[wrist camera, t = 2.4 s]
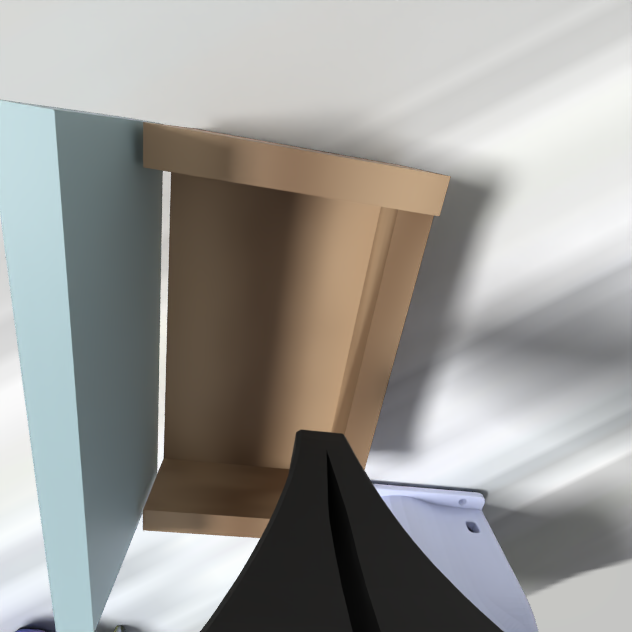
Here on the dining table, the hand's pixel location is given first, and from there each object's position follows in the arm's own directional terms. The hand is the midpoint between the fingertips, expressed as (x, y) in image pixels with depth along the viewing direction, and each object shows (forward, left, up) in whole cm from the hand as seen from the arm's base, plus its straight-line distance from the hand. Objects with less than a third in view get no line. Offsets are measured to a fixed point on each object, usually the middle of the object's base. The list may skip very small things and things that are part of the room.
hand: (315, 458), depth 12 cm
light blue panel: (+6, 0, -7) cm, 9 cm away
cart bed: (+1, 0, -10) cm, 10 cm away
